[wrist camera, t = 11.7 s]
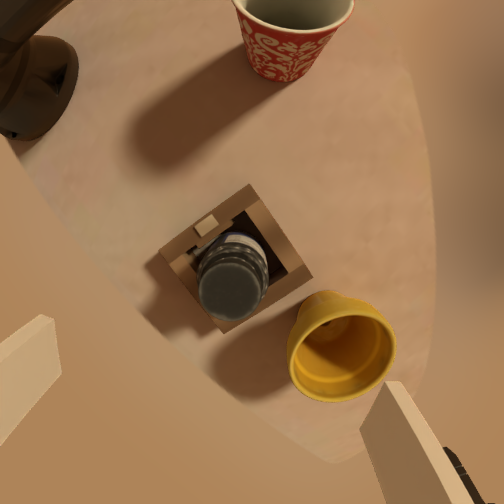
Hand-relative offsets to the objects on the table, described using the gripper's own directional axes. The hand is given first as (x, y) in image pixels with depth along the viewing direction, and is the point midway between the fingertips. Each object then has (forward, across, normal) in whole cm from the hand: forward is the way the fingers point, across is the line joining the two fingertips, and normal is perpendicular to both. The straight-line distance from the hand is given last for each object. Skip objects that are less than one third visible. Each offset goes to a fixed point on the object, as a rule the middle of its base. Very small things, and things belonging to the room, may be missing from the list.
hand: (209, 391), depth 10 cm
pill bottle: (+23, 0, -1) cm, 23 cm away
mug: (+23, +1, +24) cm, 33 cm away
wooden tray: (+23, 0, 0) cm, 23 cm away
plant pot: (+23, +11, -6) cm, 26 cm away
